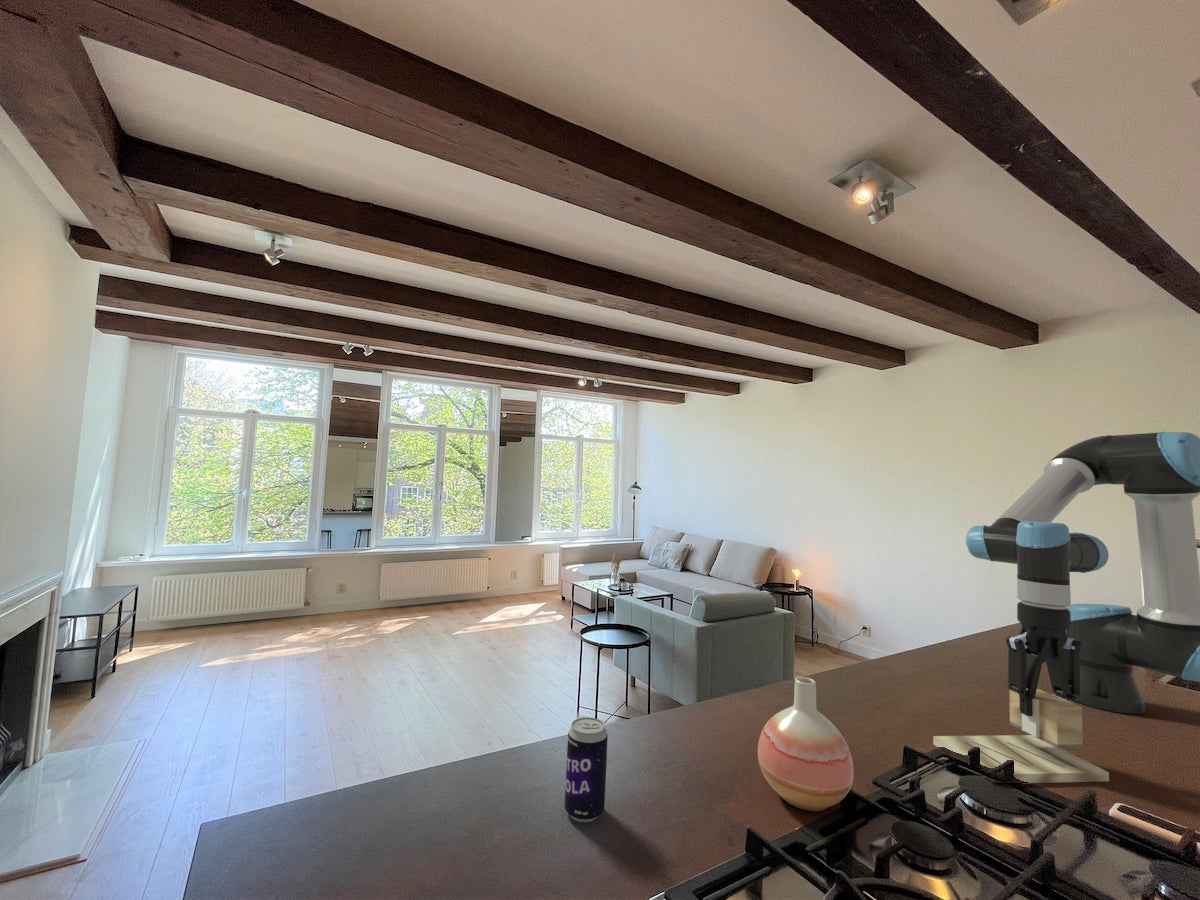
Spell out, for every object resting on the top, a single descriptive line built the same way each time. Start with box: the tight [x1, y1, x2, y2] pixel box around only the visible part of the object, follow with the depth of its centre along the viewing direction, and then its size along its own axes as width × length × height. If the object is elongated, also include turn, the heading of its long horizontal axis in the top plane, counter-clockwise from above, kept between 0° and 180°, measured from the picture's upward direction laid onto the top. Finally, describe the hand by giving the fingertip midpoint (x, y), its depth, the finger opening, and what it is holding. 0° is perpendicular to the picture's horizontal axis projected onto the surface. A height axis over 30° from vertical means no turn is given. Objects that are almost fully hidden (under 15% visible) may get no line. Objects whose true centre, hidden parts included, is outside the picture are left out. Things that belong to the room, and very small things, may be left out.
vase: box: [757, 676, 855, 812], centre depth 78 cm, size 14×14×18 cm
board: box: [932, 734, 1110, 784], centre depth 92 cm, size 22×13×2 cm, turn 97°
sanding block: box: [1009, 688, 1084, 749], centre depth 93 cm, size 9×5×7 cm, turn 7°
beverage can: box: [563, 716, 609, 823], centre depth 72 cm, size 6×6×12 cm
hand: (1044, 733), depth 93 cm, fingers closed on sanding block, 5 cm apart
